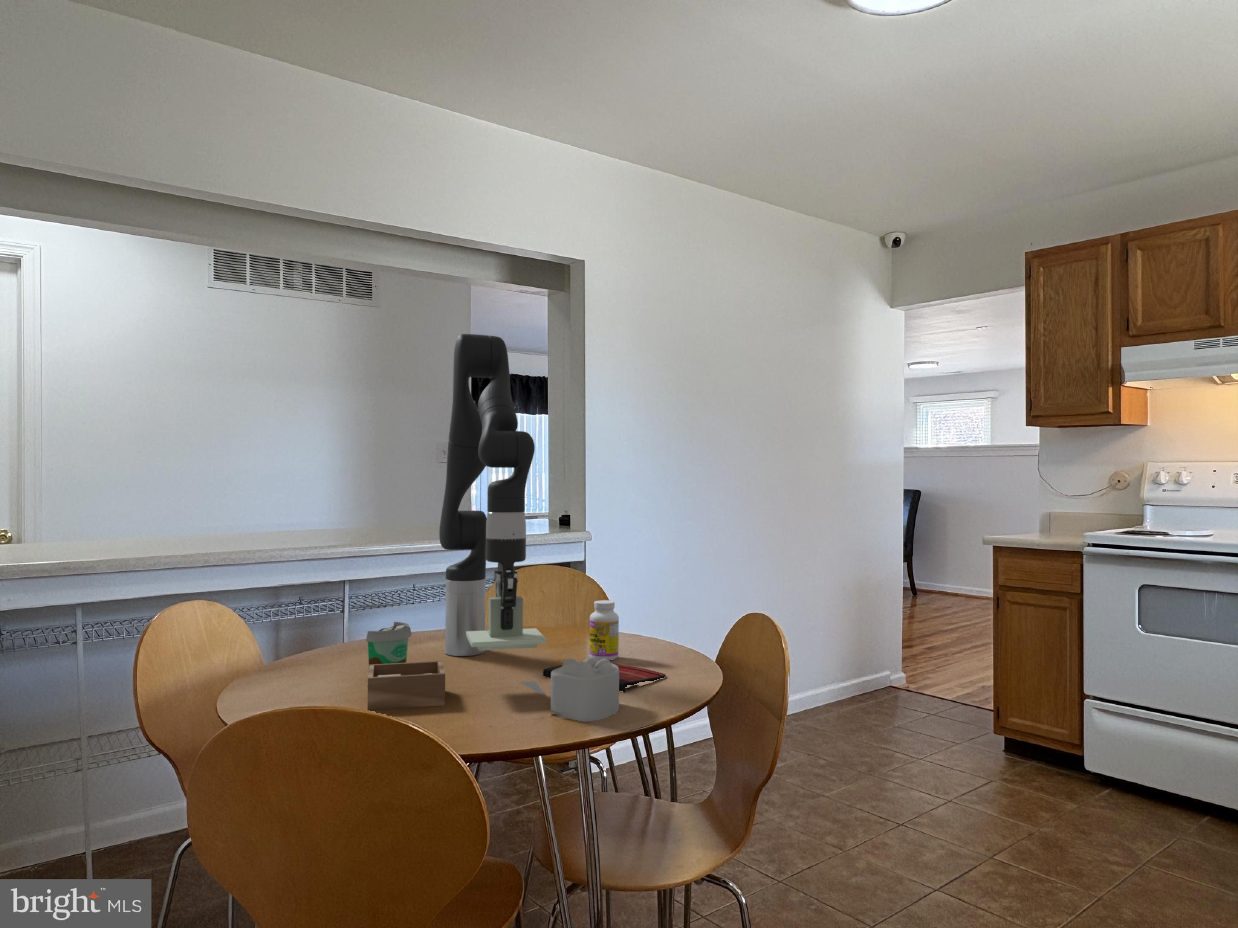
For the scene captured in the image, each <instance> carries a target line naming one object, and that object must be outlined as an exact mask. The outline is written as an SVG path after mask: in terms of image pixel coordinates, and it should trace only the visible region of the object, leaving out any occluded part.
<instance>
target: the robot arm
mask: <svg viewBox="0 0 1238 928" xmlns="http://www.w3.org/2000/svg"><path fill="white" fill-rule="evenodd" d="M452 378H453V379H452V406H451V409H452V410H451V415H450V424H449V433H448V444H447V457H446V478H445V479H446V481H445V489H444V496H443V501H442V508H441V516H440V522H439V533H438V534H439V536H438V537H439V538H438V539H439V543H440V546H441V547H442V549H444V550H447V551H464V550H465V551H466V550H467V551H468V550H469V551H470V553H469V554H468V555H467V557H465V558H464V559H462V560H461V561H459V562H455V563H453V564H450V565H449V566H447V568H446V570H445V609H444V610H445V611H444V612H445V616H444V617H445V618H444V619H445V622H444V623H445V624H444V625H445V630H444V631H445V632H444V633H445V634H444V635H445V636H444V641H445V642H444V652H445V654H446V655H449V656H454V657H467V656H468V657H469V656H476V655H481V654H484V653H485V652H486V650H481V651H479V649H478V647H472V646H471V644H470V642H469V640H468V638H467V636H466V631H486V576H487V575H486V570H487V562H489V563H497V570H494V573H493V577H494V580H495V581H494V592H495V597H500V609H501V629H502V630H511V629H512V628H513V609H514V607H515V606H516V596H517V591H518V590H517V589H518V582H519V579H518V577H519V575H518V571H516V570H515V563H521V562H524V561H526V559H527V542H526V541H527V522H526V521H527V520H526V514H525V513H526V510H525V509H526V508H525V507H526V503H525V502H526V487H527V481H528V477H529V473H530V469H531V465H532V462H533V458H534V455H535V451H536V450H535V448H536V447H535V442H534V441H535V440H534V439H533V437H532V435H531V434H530V433H528V432H527V431H522V430H521V431H520V430H517V429H518V427H519V425H518V424H519V422H518V417H517V414H516V409H515V406H514V403H513V397H512V393H511V392H512V391H511V390H512V389H511V375H510V364H509V355H508V349H507V345H506V342H505V340H504V339H503V338H502V337H500V336H495V335H486V334H476V333H475V334H474V333H461V334H459V335H458V336H457V338H456V340H455V344H454V349H453V377H452ZM470 378H482V379H492V380H491V381H490V382H489V383H488V384H487V386H486V387H485V388H484V390H482V392H481V394H480V396H479V399H478V402H477V403H478V404H477V405H478V406H477V405H476V403H475V400H474V399H473V395H472V394H471V393H472V392H471V390H470V384H469V383H470V382H469V381H470ZM486 467H488V468H494V469H495V468H496V469H497V468H499V469H502V468H503V469H507V468H508V469H509V468H511V469H512V468H513V472H512V474H511V475H510V476H509V477H507V478H505V479H504V478H503V479H499V480H495V481H491V482H490V483H489V484H488V486H487V509H486V511H487V514H485V512H484V511H483V510H459V508H460V505H461V503H462V500H463V498H464V496H465V495H466V493H467V492H468V490H469V489H470V488H471V486H472V485H473V484H474V483H475V482H476V480H477V479H478V478H479V476H480V475H481V474H482V473H483V471H484V470H485V468H486ZM506 597H511V601H505V598H506Z"/></svg>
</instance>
